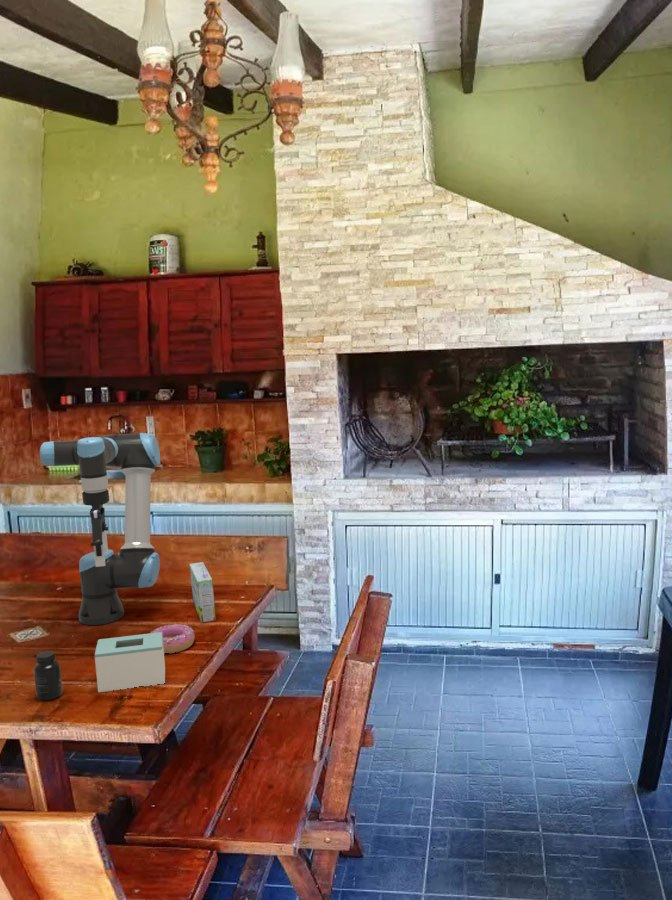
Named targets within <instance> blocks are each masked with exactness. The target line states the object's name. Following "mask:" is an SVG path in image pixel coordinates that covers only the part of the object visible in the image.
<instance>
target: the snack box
mask: <svg viewBox="0 0 672 900" xmlns="http://www.w3.org/2000/svg"><path fill="white" fill-rule="evenodd" d="M205 565H206V564H205V563H204V561H201V562H195V563H189V572H190V585H191V590H192V591H191V592H192V594H191V595H192V602H193V605H194V608H195V610H196V612H197V613H196V614H197V616H198V619H199V622H200V623H201V624H203V623H209V622H210V623H211V622H215V621H217V619H216V610H215V609H216V608H215V597H214V585H213V584H214V583H213V578H212V577H211V574H210V573H209V571H208V569H207V567H206V566H205Z"/></svg>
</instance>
